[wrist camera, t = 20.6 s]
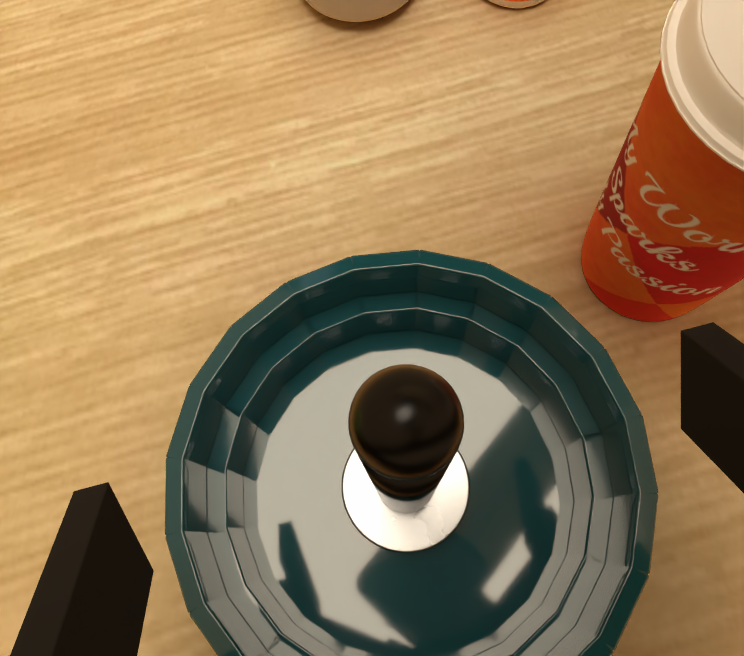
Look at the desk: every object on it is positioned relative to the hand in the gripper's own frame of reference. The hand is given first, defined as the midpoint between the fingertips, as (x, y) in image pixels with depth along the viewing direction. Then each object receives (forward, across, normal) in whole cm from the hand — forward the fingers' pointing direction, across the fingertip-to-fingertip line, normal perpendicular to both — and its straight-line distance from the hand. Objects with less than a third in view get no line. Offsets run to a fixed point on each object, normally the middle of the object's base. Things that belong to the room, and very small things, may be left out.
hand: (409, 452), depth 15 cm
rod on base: (+8, 0, -8) cm, 11 cm away
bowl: (+8, 0, -8) cm, 12 cm away
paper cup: (+13, +12, -4) cm, 19 cm away
